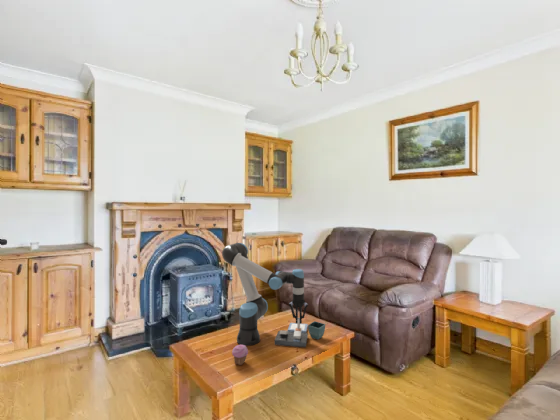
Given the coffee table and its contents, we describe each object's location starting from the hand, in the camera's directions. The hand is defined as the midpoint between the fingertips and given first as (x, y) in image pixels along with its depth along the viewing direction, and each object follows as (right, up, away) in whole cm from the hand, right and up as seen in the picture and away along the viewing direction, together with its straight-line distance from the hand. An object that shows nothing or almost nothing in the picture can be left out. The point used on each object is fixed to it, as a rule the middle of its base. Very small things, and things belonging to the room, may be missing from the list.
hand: (298, 328), depth 202 cm
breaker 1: (-10, -2, -2) cm, 10 cm away
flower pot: (+12, -8, +2) cm, 14 cm away
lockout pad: (0, -7, +16) cm, 18 cm away
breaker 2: (-1, -2, -4) cm, 4 cm away
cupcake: (-35, -8, -30) cm, 47 cm away
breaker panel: (-5, -7, -3) cm, 9 cm away
